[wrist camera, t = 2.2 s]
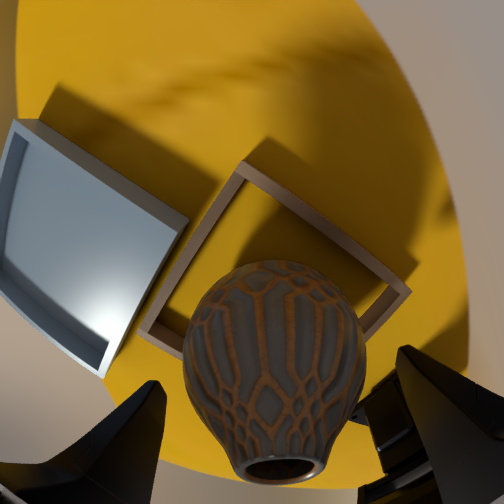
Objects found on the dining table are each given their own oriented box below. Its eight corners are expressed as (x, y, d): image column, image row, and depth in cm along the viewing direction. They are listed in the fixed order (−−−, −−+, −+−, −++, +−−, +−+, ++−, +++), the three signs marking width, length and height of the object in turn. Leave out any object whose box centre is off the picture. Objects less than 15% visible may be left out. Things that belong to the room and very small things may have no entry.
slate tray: (190, 219, 12) (178, 232, 10) (115, 359, 15) (103, 379, 13) (37, 118, 10) (13, 118, 8) (2, 267, 13) (-15, 278, 12)
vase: (217, 221, 12) (143, 362, 4) (359, 260, 13) (459, 397, 4) (192, 341, 14) (150, 484, 6) (310, 365, 15) (334, 502, 7)
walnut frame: (402, 280, 13) (412, 291, 12) (287, 395, 16) (288, 409, 15) (243, 159, 11) (241, 160, 10) (143, 321, 14) (135, 333, 13)
